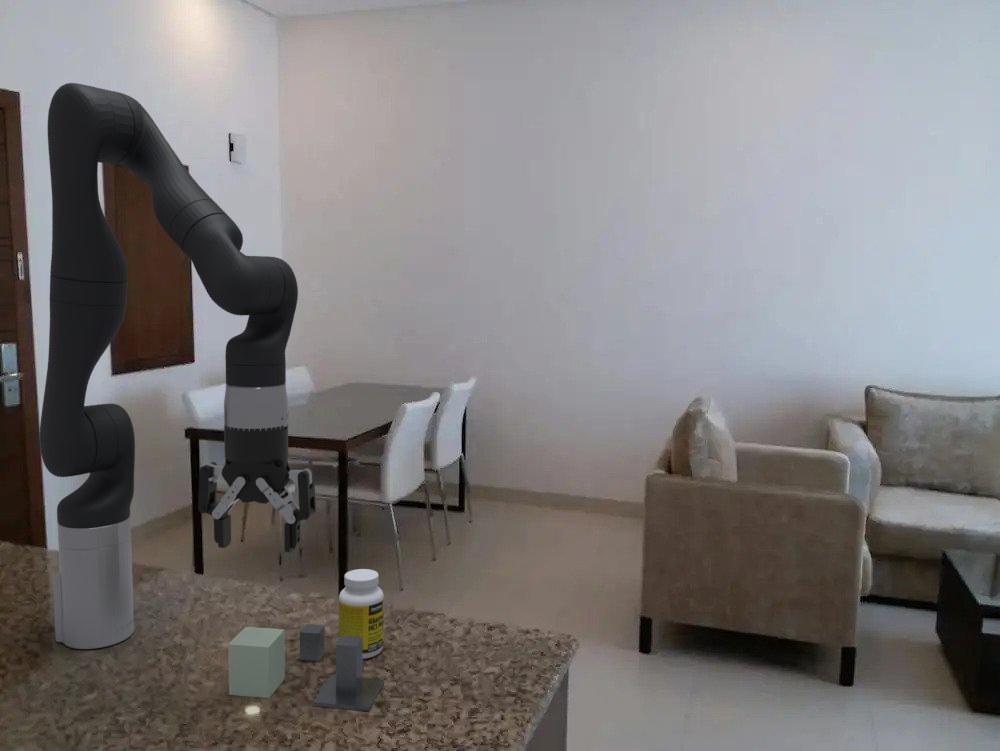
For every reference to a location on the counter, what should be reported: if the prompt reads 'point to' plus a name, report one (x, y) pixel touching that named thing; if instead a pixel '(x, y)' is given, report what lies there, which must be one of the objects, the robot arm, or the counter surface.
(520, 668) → the counter surface
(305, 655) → the short post
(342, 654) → the post on square base
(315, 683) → the counter surface
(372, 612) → the pill bottle
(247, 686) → the pale green block
